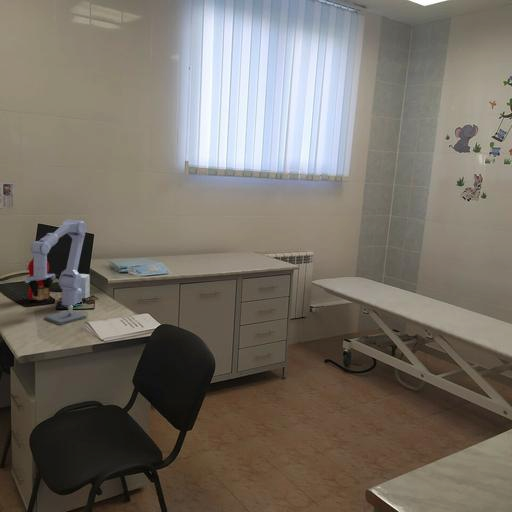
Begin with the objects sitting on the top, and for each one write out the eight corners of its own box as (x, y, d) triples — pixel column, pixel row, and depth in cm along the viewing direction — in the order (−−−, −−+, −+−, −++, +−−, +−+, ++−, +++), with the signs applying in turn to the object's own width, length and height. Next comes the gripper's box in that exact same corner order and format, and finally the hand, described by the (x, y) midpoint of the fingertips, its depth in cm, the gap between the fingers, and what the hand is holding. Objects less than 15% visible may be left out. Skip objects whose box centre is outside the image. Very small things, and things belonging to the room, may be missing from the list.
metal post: (70, 317, 238) (70, 305, 237) (73, 318, 237) (73, 305, 236) (67, 317, 236) (67, 305, 235) (69, 318, 235) (70, 306, 234)
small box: (78, 296, 272) (78, 273, 270) (89, 297, 273) (90, 274, 270) (73, 300, 264) (73, 276, 262) (85, 301, 265) (85, 277, 262)
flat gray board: (70, 312, 244) (70, 310, 244) (86, 318, 238) (86, 315, 238) (44, 318, 233) (44, 316, 233) (60, 324, 226) (60, 322, 226)
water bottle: (31, 296, 267) (30, 250, 262) (51, 297, 266) (51, 252, 262) (22, 301, 257) (22, 253, 253) (43, 302, 257) (43, 255, 253)
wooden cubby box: (42, 296, 238) (42, 286, 237) (48, 298, 235) (48, 288, 234) (32, 298, 234) (32, 287, 233) (38, 300, 231) (38, 289, 230)
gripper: (49, 263, 240) (49, 290, 242) (20, 267, 228) (21, 296, 231) (58, 265, 236) (58, 293, 239) (29, 270, 224) (30, 299, 227)
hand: (40, 294), depth 234 cm, fingers closed on wooden cubby box, 5 cm apart
